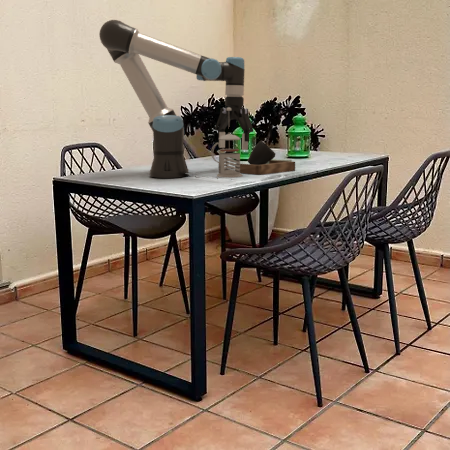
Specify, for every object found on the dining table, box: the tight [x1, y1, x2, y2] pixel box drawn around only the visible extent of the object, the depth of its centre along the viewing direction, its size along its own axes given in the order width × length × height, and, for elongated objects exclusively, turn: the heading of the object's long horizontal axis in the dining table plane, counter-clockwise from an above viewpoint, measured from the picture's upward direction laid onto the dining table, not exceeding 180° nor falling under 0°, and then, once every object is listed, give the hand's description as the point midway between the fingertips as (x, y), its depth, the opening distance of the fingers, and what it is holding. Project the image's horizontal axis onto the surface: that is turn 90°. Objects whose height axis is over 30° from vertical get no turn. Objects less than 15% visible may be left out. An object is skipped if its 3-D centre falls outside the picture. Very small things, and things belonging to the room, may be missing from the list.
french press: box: [211, 107, 244, 178], centre depth 235 cm, size 10×12×25 cm
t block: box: [266, 158, 293, 164], centre depth 269 cm, size 8×11×3 cm
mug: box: [247, 140, 276, 165], centre depth 258 cm, size 8×12×10 cm
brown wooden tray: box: [234, 159, 296, 176], centre depth 250 cm, size 21×13×4 cm, turn 134°
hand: (233, 148), depth 263 cm, fingers open, 13 cm apart
